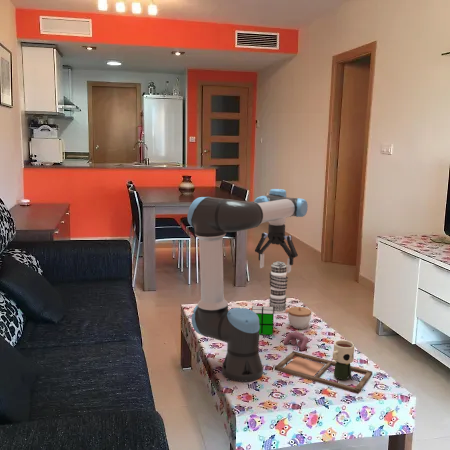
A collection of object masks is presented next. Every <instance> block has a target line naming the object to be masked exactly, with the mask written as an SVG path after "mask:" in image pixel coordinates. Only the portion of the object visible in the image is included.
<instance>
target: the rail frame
mask: <svg viewBox="0 0 450 450" xmlns="http://www.w3.org/2000/svg"><path fill="white" fill-rule="evenodd" d="M336 362H337V361H334V360H329V359H326V358H325V359H324V358H323V357H322V358H321V357H317V356H313V355H309V354H305V353H303V352H302V353H301V352H297V351H292V352H291V353H289V354H288V355H287V356H286V357H285V358H284V359H282V360H281V361H280V362H279V363H278V364H276V365H275V366H274V369H273V370H275V371H277V372H282V373H285V374H288V375H293V376H295V377H299V378H303V379H306V380H309V381H313V382H316V383H319V384H323V385H327V386H330V387H334V388H337V389H342V390H345V391H349V392H351V393H355V394H359V393H360V392H361V390H362V389H363V387H364V386H365V385H366V384H367V382H368V381H369V379H370V378H371V376H372V375H373V371H372V370H368V369H364V368H360V367H356V366H352V365H351V372H357V373H360V374H364V376H363V377H362V379H360V380H359V382H358V384H357V385H356V386H355V387H354V386H351V385H346V384H344V383H340V382H336V381H333V380H329V379H325V378H322V377H321V376H323V374H325V372H326V371H327V370H328V369H329V367H331V366H333V367H335V364H336Z"/></svg>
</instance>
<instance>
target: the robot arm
mask: <svg viewBox="0 0 450 450" xmlns="http://www.w3.org/2000/svg"><path fill="white" fill-rule="evenodd" d="M308 205H309V204H308V202H307V200H306V199H304V198H301V197H300V198H299V197H287V191H286V190H285V189H283V188H282V189H281V188H270V189H269V193H268V195H267V194H266V195H261V196H258V197H256V198H255V199H254V201H243V200H237V199H229V198H221V197H220V198H219V197H211V196H201V197H197V198H195V199H194V200H193V201H192V203H191V204H190V205H189V208H188V210H187V222H188V224H189V226H191V227H192V228H193V229H194V235H195V237H197V239H198V240H199V243H198V244H199V248H198V250H199V268H200V269H199V273H200V276H199V277H200V300H199V301H198V302H197V305H196V306H195V307H194V308H193V310H192V312H193V313H192V314H191V325H192V328H193V330H194V331H195V333H196V334H198V335H201V336H203V337H205V338H210V339H214V340H217V341H221V342H224V343H226V347H227V348H226V349H227V351H226V355H225V357H224V360H223V363H222V366H221V367H222V370H221V372H222V375H223V376H224V377H225V378H227V379H229V380H231V381H235V382H240V383H241V382H244V383H247V382H252V381H256V380H259V379H260V378H261V377H262V376H263V374H264V373H263V372H264V365H263V362H262V360H261V357H260V352H259V351H260V350H259V349H260V335H259V329H260V325H259V317H258V315H257V314H256V313H255V312H253V311H252V309H249V308H244V307H242V308H241V307H233V308H230V309H229V302H228V301H227V300H226V299H225V296H224V294H225V293H224V291H225V290H224V289H225V288H224V255H223V253H224V251H223V249H224V248H223V238H224V237H225V236H226V235H227V233H235V232H236V233H237V232H241V231H245V230H251V229H254V228H258V227H259V226H260V225H261V224H264V223H268V228H267V230H268V232H262V233H261V236H260V237H261V238H260V240H259V241H258V244H257V245H256V247H255V248H254V252H255V253H257V254H258V261H259V269H263V268H265V253H264V252H265V251H266V250H267V249H268V248H269V246H270V245H277V246H279V245H280V246H281V247H282V249H283V251H284V252H285V253H286V255H287V256H288V257H287V262H286V265H287V267H286V271H287V274H289V273H291V272H292V266H293V265H294V258H297V257H298V252H297V250H296V247H295V245H294V242H293V237H292V235H286V234H285V233H286V218H291V217H296V218H303V217H305V216H306V214H307V212H308V207H309V206H308ZM266 238H268V240H267V241H266ZM265 241H266V243H265V244H264V242H265ZM286 241H287V242H286ZM263 244H264V245H263Z"/></svg>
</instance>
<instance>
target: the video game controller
mask: <svg viewBox="0 0 450 450" xmlns="http://www.w3.org/2000/svg"><path fill="white" fill-rule="evenodd" d="M309 341H310V339H309V337H308V336H307V335H305V334H304V333H303V332H299V331H290V332H289V333H288V334H287V335H286V337H285V339H284V340H283V345H284V346H286V345H288V344H289V343H290V342H291V343H290V344H291V345H293V346H296V345H297V347H299V349H300V352H301V351H304V350H305V348H307V344H309Z"/></svg>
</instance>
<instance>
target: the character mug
mask: <svg viewBox="0 0 450 450" xmlns="http://www.w3.org/2000/svg"><path fill="white" fill-rule="evenodd" d="M354 353H355V344H354V343H353V342H352V341H349V340H346V339H339V340H335V341H334V343H333V352H332V361H334V362H336V364H335V366H334V370H333V375H334V377H336V378H337V379H339V380H344V381H346V380H349V379H351V378H352V371H351V366H352V365H351V363H352V362H353V361H354V359H355V357H354V355H355V354H354Z"/></svg>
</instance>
